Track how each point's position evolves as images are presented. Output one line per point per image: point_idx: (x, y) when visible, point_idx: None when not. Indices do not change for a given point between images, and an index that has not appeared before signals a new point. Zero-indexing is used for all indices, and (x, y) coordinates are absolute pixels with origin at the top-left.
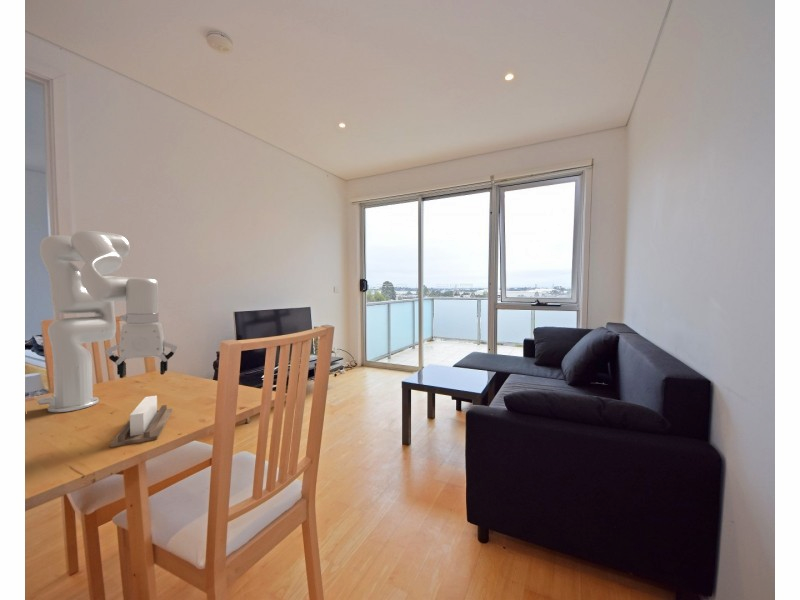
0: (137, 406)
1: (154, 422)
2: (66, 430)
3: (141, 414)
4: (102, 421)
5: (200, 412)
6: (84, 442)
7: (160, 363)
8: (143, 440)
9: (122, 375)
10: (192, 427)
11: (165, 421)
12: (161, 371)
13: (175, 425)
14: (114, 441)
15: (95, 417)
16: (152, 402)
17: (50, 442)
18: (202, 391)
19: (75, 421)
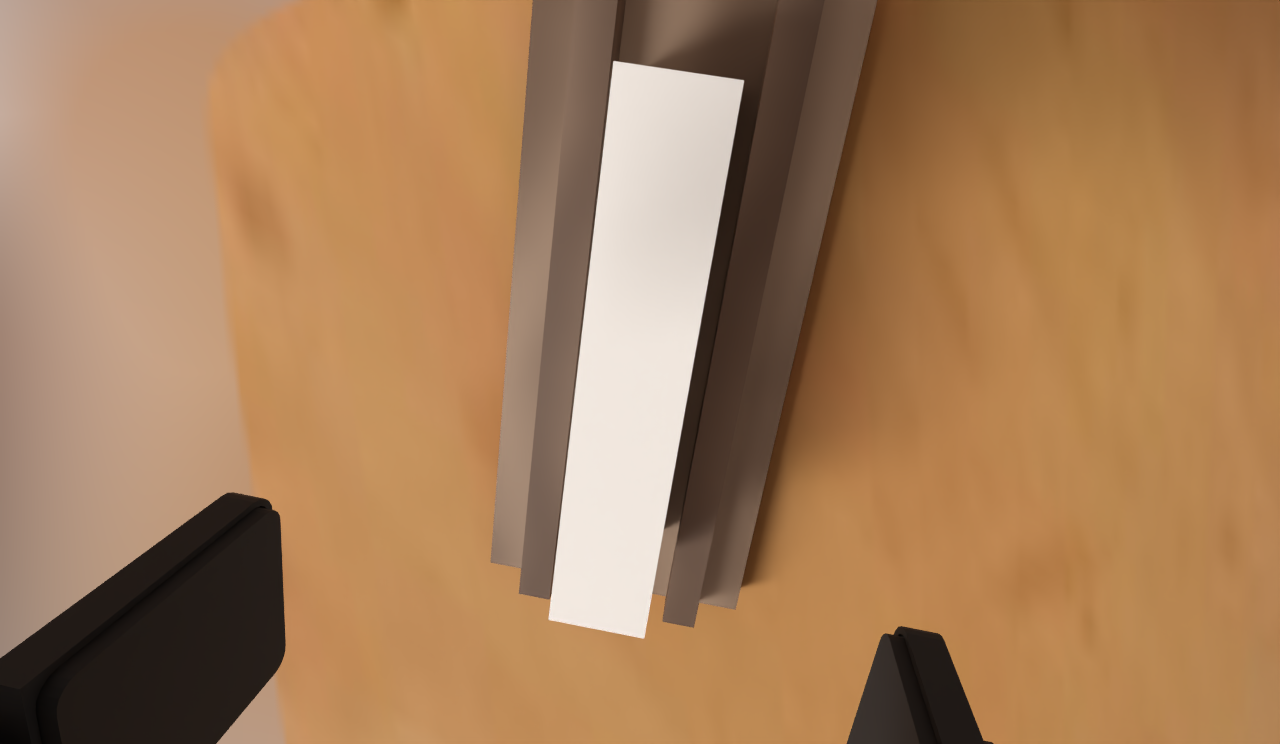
0: (689, 364)
1: (565, 194)
2: (1146, 596)
3: (633, 66)
4: None
5: (300, 413)
6: (1042, 263)
7: (76, 667)
8: None
9: (898, 660)
10: (312, 94)
11: (512, 305)
12: (214, 522)
13: (446, 228)
14: (850, 28)
15: None
16: (570, 450)
17: (1247, 414)
18: None
19: (1091, 736)
